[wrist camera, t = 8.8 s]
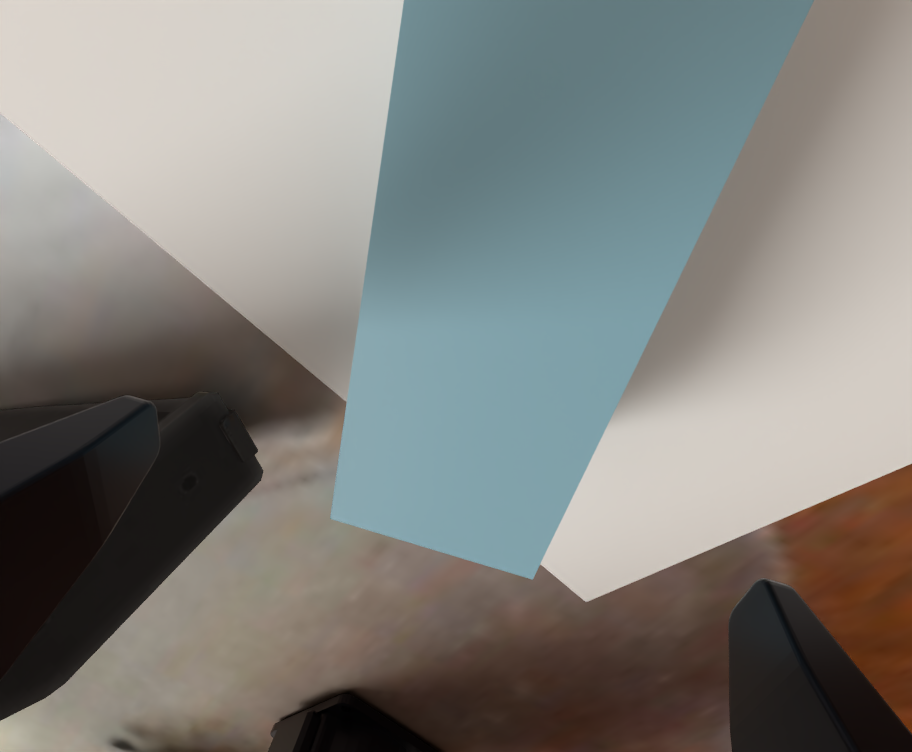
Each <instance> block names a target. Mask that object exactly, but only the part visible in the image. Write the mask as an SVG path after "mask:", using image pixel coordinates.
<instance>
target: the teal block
mask: <svg viewBox="0 0 912 752" xmlns="http://www.w3.org/2000/svg"><path fill="white" fill-rule="evenodd" d="M813 2H814V0H404V3H403V10H402V17H401V24H400V31H399V38H398V45H397V53H396V60H395V67H394V74H393V81H392V88H391V95H390V102H389V109H388V116H387V123H386V130H385V137H384V144H383V151H382V158H381V165H380V172H379V179H378V186H377V193H376V200H375V207H374V214H373V221H372V228H371V235H370V242H369V249H368V256H367V263H366V270H365V277H364V284H363V291H362V299H361V306H360V313H359V320H358V327H357V334H356V341H355V348H354V355H353V362H352V369H351V376H350V383H349V390H348V397H347V404H346V411H345V418H344V425H343V432H342V439H341V446H340V453H339V460H338V467H337V474H336V481H335V488H334V495H333V502H332V509H331V516H330V519H333V520H336V521H339V522H343V523H346V524H349V525H353V526H356V527H359V528H363V529H366V530H369V531H373V532H376V533H379V534H383V535H386V536H389V537H393V538H396V539H399V540H403V541H406V542H409V543H413V544H416V545H419V546H423V547H426V548H429V549H433V550H436V551H439V552H443V553H446V554H449V555H453V556H456V557H459V558H463V559H466V560H469V561H473V562H476V563H479V564H482V565H486V566H489V567H492V568H496V569H499V570H502V571H506V572H509V573H512V574H516V575H519V576H522V577H526V578H529V579H532V580H533V578H534V576H535V574H536V572H537V569H538V567H539V565H540V563H541V561H542V559H543V557H544V555H545V553H546V551H547V549H548V547H549V545H550V543H551V541H552V539H553V537H554V535H555V532H556V530H557V528H558V526H559V524H560V522H561V520H562V518H563V516H564V514H565V512H566V510H567V508H568V506H569V504H570V502H571V500H572V497H573V495H574V493H575V491H576V489H577V487H578V485H579V483H580V481H581V479H582V477H583V475H584V473H585V471H586V469H587V467H588V465H589V463H590V460H591V458H592V456H593V454H594V452H595V450H596V448H597V446H598V444H599V442H600V440H601V438H602V436H603V434H604V432H605V430H606V428H607V425H608V423H609V421H610V419H611V417H612V415H613V413H614V411H615V409H616V407H617V405H618V403H619V401H620V399H621V397H622V395H623V393H624V391H625V388H626V386H627V384H628V382H629V380H630V378H631V376H632V374H633V372H634V370H635V368H636V366H637V364H638V362H639V360H640V358H641V356H642V353H643V351H644V349H645V347H646V345H647V343H648V341H649V339H650V337H651V335H652V333H653V331H654V329H655V327H656V325H657V323H658V321H659V319H660V316H661V314H662V312H663V310H664V308H665V306H666V304H667V302H668V300H669V298H670V296H671V294H672V292H673V290H674V288H675V286H676V284H677V281H678V279H679V277H680V275H681V273H682V271H683V269H684V267H685V265H686V263H687V261H688V259H689V257H690V255H691V253H692V251H693V249H694V246H695V244H696V242H697V240H698V238H699V236H700V234H701V232H702V230H703V228H704V226H705V224H706V222H707V220H708V218H709V216H710V214H711V212H712V209H713V207H714V205H715V203H716V201H717V199H718V197H719V195H720V193H721V191H722V189H723V187H724V185H725V183H726V181H727V179H728V177H729V174H730V172H731V170H732V168H733V166H734V164H735V162H736V160H737V158H738V156H739V154H740V152H741V150H742V148H743V146H744V144H745V142H746V140H747V137H748V135H749V133H750V131H751V129H752V127H753V125H754V123H755V121H756V119H757V117H758V115H759V113H760V111H761V109H762V107H763V105H764V102H765V100H766V98H767V96H768V94H769V92H770V90H771V88H772V86H773V84H774V82H775V80H776V78H777V76H778V74H779V72H780V70H781V68H782V65H783V63H784V61H785V59H786V57H787V55H788V53H789V51H790V49H791V47H792V45H793V43H794V41H795V39H796V37H797V35H798V33H799V30H800V28H801V26H802V24H803V22H804V20H805V18H806V16H807V14H808V12H809V10H810V8H811V6H812V4H813Z"/></svg>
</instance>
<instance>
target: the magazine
mask: <svg viewBox="0 0 912 752" xmlns="http://www.w3.org/2000/svg"><path fill="white" fill-rule="evenodd" d="M148 401H151V402H152V403H154V405H155V406H156V409H157V415H158V424H159V433H160V449H159V453H158V455H157V458H156V459H155V461H154V463H153V464H152V466H151V468H150V469H149V471H148V473H147V474H146V476H145V478H144V479H143V481H142V483H141V484H140V486H139V488H138V489H137V491H136V493H135V494H134V496H133V498H132V499H131V501H130V503H129V504H128V506H127V507H126V509H125V511H124V512H123V514H122V516H121V517H120V519H119V521H118V522H117V524H116V526H115V527H114V529H113V531H112V532H111V534H110V535H109V537H108V538H107V540H106V542H105V543H104V545H103V546H102V547H101V549H100V550H99V552H98V553H97V554H96V556H95V557H94V559H93V560H92V561H91V563H90V564H89V565H88V566H87V568H86V569H85V570H84V572H83V573H82V574H81V576H80V577H79V578H78V580H77V581H76V582H75V584H74V585H73V586H72V587H71V589H70V590H69V591H68V593H67V594H66V595H65V597H64V598H63V599H62V601H61V602H60V603H59V605H58V606H57V607H56V608H55V610H54V611H53V612H52V614H51V615H50V616H49V618H48V619H47V620H46V622H45V623H44V624H43V626H42V627H41V628H40V629H39V631H38V632H37V633H36V635H35V636H34V637H33V639H32V640H31V641H30V643H29V644H28V645H27V647H26V648H25V649H24V650H23V652H22V653H21V654H20V656H19V657H18V658H17V660H16V661H15V662H14V664H13V665H12V666H11V668H10V669H9V670H8V671H7V673H6V674H5V675H4V677H3V678H2V679H1V681H0V721H1V720H3V719H5V718H7V717H9V716H11V715H13V714H14V713H16V712H18V711H20V710H22V709H24V708H26V707H28V706H30V705H32V704H34V703H36V702H38V701H40V700H42V699H44V698H46V697H47V696H49V695H50V694H51V693H53V692H54V691H55V690H57V689H58V688H59V687H61V686H62V685H63V684H65V683H66V682H67V681H68V680H69V679H70V678H71V677H72V676H73V675H74V674H75V672H76V671H77V670H78V669H79V668H80V667H81V666H82V665H83V664H84V663H85V662H86V661H87V660H88V659H89V658H90V657H91V656H92V655H93V654H94V653H95V652H96V651H97V650H98V649H99V648H100V647H101V646H102V645H103V643H104V642H105V641H106V640H107V639H108V638H109V637H110V636H111V635H112V634H113V633H114V632H115V631H116V630H117V629H118V628H119V627H120V626H121V625H122V624H123V623H124V622H125V621H126V620H127V619H128V618H129V617H130V616H131V614H132V613H133V612H134V611H135V610H136V609H137V608H138V607H139V606H140V605H141V604H142V603H143V602H144V601H145V600H146V599H147V598H148V597H149V596H150V595H151V594H152V593H153V592H154V591H155V590H156V589H157V588H158V586H159V585H160V584H161V583H162V582H163V581H164V580H165V579H166V578H167V577H168V576H169V575H170V574H171V573H172V572H173V571H174V570H175V569H176V568H177V567H178V566H179V565H180V564H181V563H182V562H183V561H184V560H185V559H186V557H187V556H188V555H189V554H190V553H191V552H192V551H193V550H194V549H195V548H196V547H197V546H198V545H199V544H200V543H201V542H202V541H203V540H204V539H205V538H206V537H207V536H208V535H209V534H210V533H211V532H212V531H213V529H214V528H215V527H216V526H217V525H218V524H219V523H220V522H221V521H222V520H223V519H224V518H225V517H226V516H227V515H228V514H229V513H230V512H231V511H232V510H233V509H234V508H235V507H236V506H237V505H238V504H239V503H240V502H241V500H242V499H243V498H244V497H245V496H246V495H247V494H248V493H249V492H250V491H251V490H252V489H253V488H254V487H255V486H256V485H257V484H258V483H259V482H260V481H261V478H262V474H263V469H262V467H261V466H260V464H259V462H258V461H257V459H256V457H255V454H256V453H257V452H258V449H257V448H256V446H255V444H254V442H253V441H252V439H251V437H250V436H249V434H248V432H247V430H246V429H245V427H244V425H243V423H242V422H241V420H240V418H239V417H238V415H237V413H236V411H235V410H228V409H227V408H226V406H225V404H224V403H223V401H222V399H221V397H220V396H219V394H218V393H212V392H197V393H196V394H194V395H193V396H192V397H191V398H179V399H163V400H148ZM100 404H102V403H95V404H79V405H62V406H45V407H32V408H22V409H11V410H1V411H0V442H2V441H5V440H7V439H10V438H13V437H15V436H18V435H21V434H23V433H26V432H28V431H31V430H34V429H36V428H39V427H42V426H44V425H47V424H50V423H52V422H55V421H57V420H60V419H63V418H65V417H68V416H71V415H73V414H76V413H79V412H81V411H84V410H86V409H89V408H92V407H94V406H97V405H100Z"/></svg>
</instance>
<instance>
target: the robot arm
mask: <svg viewBox="0 0 912 752" xmlns="http://www.w3.org/2000/svg"><path fill="white" fill-rule="evenodd" d="M159 449H160V433H159V424H158V415H157V409H156V406H155V405H154V403H152V402H151V401H148V400H144V399H141V398H137V397H134V396H129V395H126V396H121V397H118V398H115V399H113V400H110V401H107V402H105V403H102V404H100V405H97V406H94V407H92V408H89V409H86V410H84V411H81V412H79V413H76V414H73V415H71V416H68V417H65V418H63V419H60V420H57V421H55V422H52V423H50V424H47V425H44V426H42V427H39V428H36V429H34V430H31V431H28V432H26V433H23V434H21V435H18V436H15V437H13V438H10V439H7V440H5V441H2V442H0V681H1V679H2V678H3V677H4V675H5V674H6V673H7V671H8V670H9V669H10V668H11V666H12V665H13V664H14V662H15V661H16V660H17V658H18V657H19V656H20V654H21V653H22V652H23V650H24V649H25V648H26V647H27V645H28V644H29V643H30V641H31V640H32V639H33V637H34V636H35V635H36V633H37V632H38V631H39V629H40V628H41V627H42V626H43V624H44V623H45V622H46V620H47V619H48V618H49V616H50V615H51V614H52V612H53V611H54V610H55V608H56V607H57V606H58V605H59V603H60V602H61V601H62V599H63V598H64V597H65V595H66V594H67V593H68V591H69V590H70V589H71V587H72V586H73V585H74V584H75V582H76V581H77V580H78V578H79V577H80V576H81V574H82V573H83V572H84V570H85V569H86V568H87V566H88V565H89V564H90V563H91V561H92V560H93V559H94V557H95V556H96V554H97V553H98V552H99V550H100V549H101V547H102V546H103V545H104V543H105V542H106V540H107V538H108V537H109V535H110V534H111V532H112V531H113V529H114V527H115V526H116V524H117V522H118V521H119V519H120V517H121V516H122V514H123V512H124V511H125V509H126V507H127V506H128V504H129V503H130V501H131V499H132V498H133V496H134V494H135V493H136V491H137V489H138V488H139V486H140V484H141V483H142V481H143V479H144V478H145V476H146V474H147V473H148V471H149V469H150V468H151V466H152V464H153V463H154V461H155V459H156V458H157V455H158V453H159ZM728 629H729V707H730V733H731V744H732V752H912V734H911V732H910V731H909V730H908V729H907V728H906V726H905V725H904V724H903V723H902V721H901V720H900V719H899V718H898V716H897V715H896V714H895V713H894V712H893V710H892V709H891V708H890V707H889V705H888V704H887V703H886V702H885V700H884V699H883V698H882V697H881V695H880V694H879V693H878V692H877V691H876V689H875V688H874V687H873V686H872V684H871V683H870V682H869V681H868V679H867V678H866V677H865V676H864V674H863V673H862V672H861V671H860V670H859V668H858V667H857V666H856V665H855V663H854V662H853V661H852V660H851V658H850V657H849V656H848V655H847V653H846V652H845V651H844V650H843V649H842V647H841V646H840V645H839V644H838V642H837V641H836V640H835V639H834V637H833V636H832V635H831V634H830V632H829V631H828V630H827V629H826V628H825V626H824V625H823V624H822V623H821V621H820V620H819V619H818V618H817V616H816V615H815V614H814V613H813V612H812V610H811V609H810V608H809V607H808V605H807V604H806V603H805V602H804V600H803V599H802V598H801V597H800V595H799V594H798V593H797V592H796V591H795V590H794V589H793V588H792V587H791V586H789V585H787V584H783V583H780V582H776V581H773V580H769V579H766V578H762V579H759V580H757V581H756V582H755V583H754V584H753V585H752V586H751V588H750V589H749V590H748V591H747V592H746V594H745V595H744V596H743V597H742V599H741V600H740V601H739V602H738V603H737V605H736V606H735V607H734V609H733V610H732V612H731V615H730V618H729V627H728ZM271 736H272V737H273V741H272V743H271V746H270V748H269V751H268V752H437V751H436V750H434V749H433V748H431V747H430V746H428V745H427V744H425V743H424V742H422V741H421V740H419V739H418V738H416V737H415V736H413V735H412V734H410V733H409V732H407V731H406V730H404V729H403V728H401V727H399V726H398V725H396V724H395V723H393V722H392V721H390V720H389V719H387V718H386V717H384V716H383V715H381V714H380V713H378V712H377V711H375V710H374V709H372V708H371V707H369V706H368V705H366V704H365V703H363V702H362V701H360V700H359V699H357V698H356V697H354V696H352V695H348V694H341V695H338V696H336V697H334V698H332V699H329V700H327V701H325V702H323V703H320V704H318V705H316V706H314V707H311V708H309V709H307V710H305V711H302V712H300V713H298V714H296V715H293V716H291V717H289V718H287V719H284V720H282V721H280V722H278V723H275V724H274V726H273V729H272V731H271Z"/></svg>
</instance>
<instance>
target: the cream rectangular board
mask: <svg viewBox="0 0 912 752" xmlns="http://www.w3.org/2000/svg"><path fill="white" fill-rule="evenodd" d="M403 3H404V0H0V113H1V114H2V115H3V116H4V117H5V118H7V119H8V120H9V121H10V122H11V123H13V124H14V125H15V126H16V127H17V128H19V129H20V130H21V131H22V132H23V133H25V134H26V135H27V136H28V137H29V138H31V139H32V140H33V141H34V142H35V143H37V144H38V145H39V146H40V147H41V148H43V149H44V150H45V151H46V152H47V153H49V154H50V155H51V156H52V157H53V158H54V159H56V160H57V161H58V162H59V163H60V164H62V165H63V166H64V167H65V168H66V169H68V170H69V171H70V172H71V173H72V174H74V175H75V176H76V177H77V178H78V179H80V180H81V181H82V182H83V183H84V184H86V185H87V186H88V187H89V188H90V189H92V190H93V191H94V192H95V193H96V194H98V195H99V196H100V197H101V198H102V199H104V200H105V201H106V202H107V203H108V204H110V205H111V206H112V207H113V208H114V209H116V210H117V211H118V212H119V213H120V214H122V215H123V216H124V217H125V218H126V219H128V220H129V221H130V222H131V223H132V224H134V225H135V226H136V227H137V228H138V229H140V230H141V231H142V232H143V233H144V234H146V235H147V236H148V237H149V238H150V239H152V240H153V241H154V242H155V243H156V244H158V245H159V246H160V247H161V248H162V249H164V250H165V251H166V252H167V253H168V254H170V255H171V256H172V257H173V258H174V259H176V260H177V261H178V262H179V263H180V264H181V265H183V266H184V267H185V268H186V269H187V270H189V271H190V272H191V273H192V274H193V275H195V276H196V277H197V278H198V279H199V280H201V281H202V282H203V283H204V284H205V285H207V286H208V287H209V288H210V289H211V290H213V291H214V292H215V293H216V294H217V295H219V296H220V297H221V298H222V299H223V300H225V301H226V302H227V303H228V304H229V305H231V306H232V307H233V308H234V309H235V310H237V311H238V312H239V313H240V314H241V315H243V316H244V317H245V318H246V319H247V320H249V321H250V322H251V323H252V324H253V325H255V326H256V327H257V328H258V329H259V330H261V331H262V332H263V333H264V334H265V335H267V336H268V337H269V338H270V339H271V340H273V341H274V342H275V343H276V344H277V345H279V346H280V347H281V348H282V349H283V350H285V351H286V352H287V353H288V354H289V355H291V356H292V357H293V358H294V359H295V360H297V361H298V362H299V363H300V364H301V365H303V366H304V367H305V368H306V369H307V370H308V371H310V372H311V373H312V374H313V375H314V376H316V377H317V378H318V379H319V380H320V381H322V382H323V383H324V384H325V385H326V386H328V387H329V388H330V389H331V390H332V391H334V392H335V393H336V394H337V395H338V396H340V397H341V398H342V399H343V400H344V401H346V402H347V397H348V390H349V383H350V376H351V369H352V362H353V355H354V348H355V341H356V334H357V327H358V320H359V313H360V306H361V299H362V291H363V284H364V277H365V270H366V263H367V256H368V249H369V242H370V235H371V228H372V221H373V214H374V207H375V200H376V193H377V186H378V179H379V172H380V165H381V158H382V151H383V144H384V137H385V130H386V123H387V116H388V109H389V102H390V95H391V88H392V81H393V74H394V67H395V60H396V53H397V45H398V38H399V31H400V24H401V17H402V10H403ZM909 464H912V0H814V2H813V4H812V6H811V8H810V10H809V12H808V14H807V16H806V18H805V20H804V22H803V24H802V26H801V28H800V30H799V33H798V35H797V37H796V39H795V41H794V43H793V45H792V47H791V49H790V51H789V53H788V55H787V57H786V59H785V61H784V63H783V65H782V68H781V70H780V72H779V74H778V76H777V78H776V80H775V82H774V84H773V86H772V88H771V90H770V92H769V94H768V96H767V98H766V100H765V102H764V105H763V107H762V109H761V111H760V113H759V115H758V117H757V119H756V121H755V123H754V125H753V127H752V129H751V131H750V133H749V135H748V137H747V140H746V142H745V144H744V146H743V148H742V150H741V152H740V154H739V156H738V158H737V160H736V162H735V164H734V166H733V168H732V170H731V172H730V174H729V177H728V179H727V181H726V183H725V185H724V187H723V189H722V191H721V193H720V195H719V197H718V199H717V201H716V203H715V205H714V207H713V209H712V212H711V214H710V216H709V218H708V220H707V222H706V224H705V226H704V228H703V230H702V232H701V234H700V236H699V238H698V240H697V242H696V244H695V246H694V249H693V251H692V253H691V255H690V257H689V259H688V261H687V263H686V265H685V267H684V269H683V271H682V273H681V275H680V277H679V279H678V281H677V284H676V286H675V288H674V290H673V292H672V294H671V296H670V298H669V300H668V302H667V304H666V306H665V308H664V310H663V312H662V314H661V316H660V319H659V321H658V323H657V325H656V327H655V329H654V331H653V333H652V335H651V337H650V339H649V341H648V343H647V345H646V347H645V349H644V351H643V353H642V356H641V358H640V360H639V362H638V364H637V366H636V368H635V370H634V372H633V374H632V376H631V378H630V380H629V382H628V384H627V386H626V388H625V391H624V393H623V395H622V397H621V399H620V401H619V403H618V405H617V407H616V409H615V411H614V413H613V415H612V417H611V419H610V421H609V423H608V425H607V428H606V430H605V432H604V434H603V436H602V438H601V440H600V442H599V444H598V446H597V448H596V450H595V452H594V454H593V456H592V458H591V460H590V463H589V465H588V467H587V469H586V471H585V473H584V475H583V477H582V479H581V481H580V483H579V485H578V487H577V489H576V491H575V493H574V495H573V497H572V500H571V502H570V504H569V506H568V508H567V510H566V512H565V514H564V516H563V518H562V520H561V522H560V524H559V526H558V528H557V530H556V532H555V535H554V537H553V539H552V541H551V543H550V545H549V547H548V549H547V551H546V553H545V555H544V557H543V559H542V561H541V563H540V564H541V565H542V566H543V567H545V568H546V569H547V570H548V571H549V572H551V573H552V574H553V575H554V576H555V577H557V578H558V579H559V580H560V581H561V582H562V583H564V584H565V585H566V586H567V587H568V588H570V589H571V590H572V591H573V592H574V593H576V594H577V595H578V596H579V597H580V598H582V599H583V600H584V601H585V602H588V601H590V600H592V599H595V598H597V597H599V596H602V595H604V594H606V593H609V592H611V591H614V590H616V589H618V588H621V587H623V586H625V585H628V584H630V583H632V582H635V581H637V580H639V579H642V578H644V577H646V576H649V575H651V574H653V573H656V572H658V571H660V570H663V569H665V568H668V567H670V566H672V565H675V564H677V563H679V562H682V561H684V560H686V559H689V558H691V557H693V556H696V555H698V554H700V553H703V552H705V551H707V550H710V549H712V548H714V547H717V546H719V545H722V544H724V543H726V542H729V541H731V540H733V539H736V538H738V537H740V536H743V535H745V534H747V533H750V532H752V531H754V530H757V529H759V528H761V527H764V526H766V525H768V524H771V523H773V522H776V521H778V520H780V519H783V518H785V517H787V516H790V515H792V514H794V513H797V512H799V511H801V510H804V509H806V508H808V507H811V506H813V505H815V504H818V503H820V502H822V501H825V500H827V499H830V498H832V497H834V496H837V495H839V494H841V493H844V492H846V491H848V490H851V489H853V488H855V487H858V486H860V485H862V484H865V483H867V482H869V481H872V480H874V479H876V478H879V477H881V476H884V475H886V474H888V473H891V472H893V471H895V470H898V469H900V468H902V467H905V466H907V465H909Z"/></svg>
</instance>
